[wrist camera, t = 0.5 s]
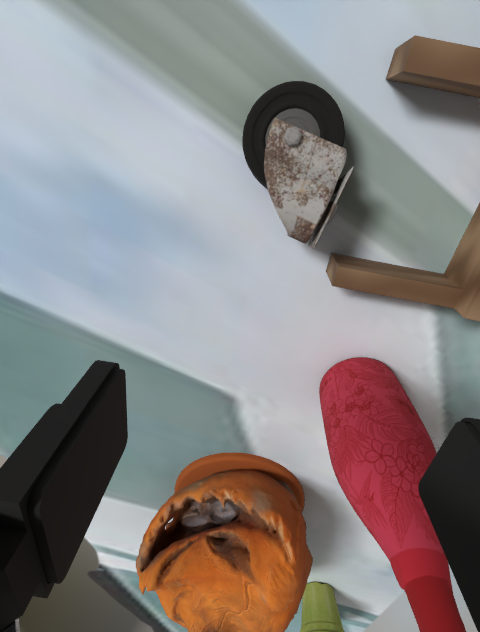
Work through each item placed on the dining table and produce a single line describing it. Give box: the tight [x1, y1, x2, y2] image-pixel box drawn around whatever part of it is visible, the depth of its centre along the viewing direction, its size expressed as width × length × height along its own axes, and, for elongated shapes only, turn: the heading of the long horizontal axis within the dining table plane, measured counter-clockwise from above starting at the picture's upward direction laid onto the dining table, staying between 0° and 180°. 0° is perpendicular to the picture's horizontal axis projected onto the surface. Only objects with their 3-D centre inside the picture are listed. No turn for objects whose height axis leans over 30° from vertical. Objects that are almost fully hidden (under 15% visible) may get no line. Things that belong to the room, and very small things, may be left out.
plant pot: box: [300, 582, 345, 632], centre depth 64 cm, size 9×9×9 cm
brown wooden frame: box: [326, 36, 480, 321], centre depth 28 cm, size 19×14×6 cm
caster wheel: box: [243, 81, 354, 248], centre depth 28 cm, size 7×11×10 cm
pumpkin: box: [136, 453, 313, 632], centre depth 45 cm, size 22×25×23 cm
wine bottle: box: [319, 357, 466, 632], centre depth 29 cm, size 10×10×30 cm
